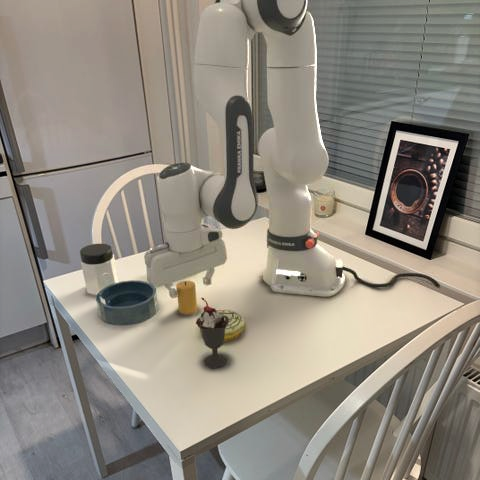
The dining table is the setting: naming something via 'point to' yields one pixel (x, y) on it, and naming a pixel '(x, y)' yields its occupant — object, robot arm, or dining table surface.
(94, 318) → the dining table surface
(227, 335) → the decorated donut
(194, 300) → the candle
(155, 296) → the bowl
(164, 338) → the dining table surface
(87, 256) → the jar
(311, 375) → the dining table surface
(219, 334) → the sundae
